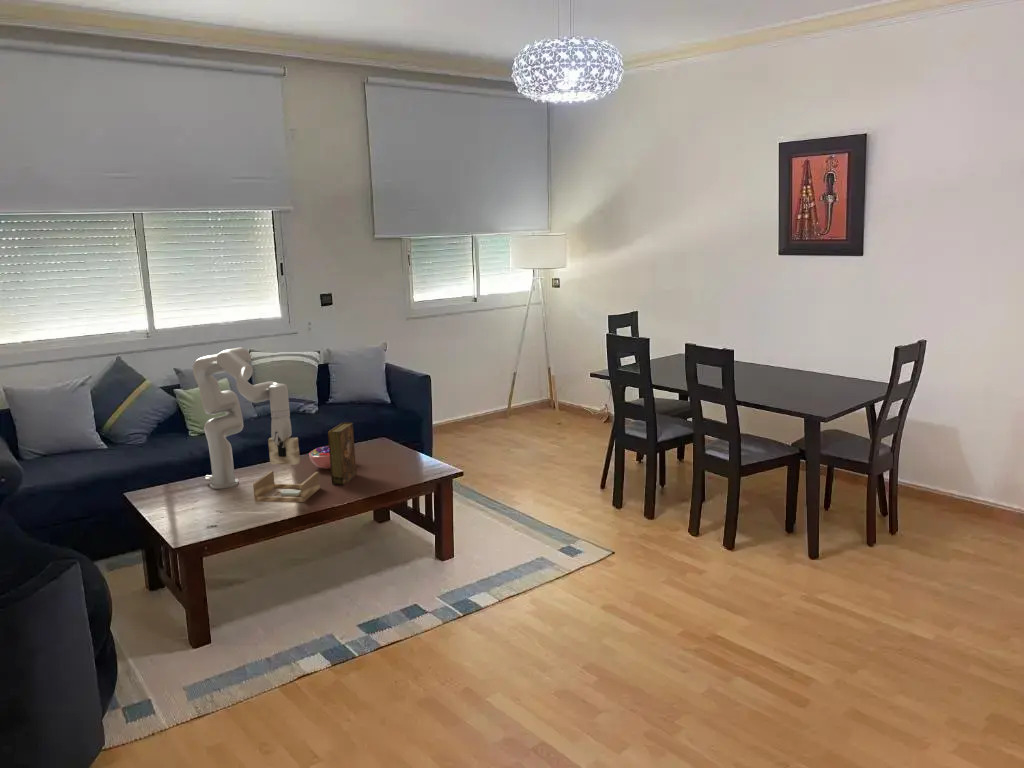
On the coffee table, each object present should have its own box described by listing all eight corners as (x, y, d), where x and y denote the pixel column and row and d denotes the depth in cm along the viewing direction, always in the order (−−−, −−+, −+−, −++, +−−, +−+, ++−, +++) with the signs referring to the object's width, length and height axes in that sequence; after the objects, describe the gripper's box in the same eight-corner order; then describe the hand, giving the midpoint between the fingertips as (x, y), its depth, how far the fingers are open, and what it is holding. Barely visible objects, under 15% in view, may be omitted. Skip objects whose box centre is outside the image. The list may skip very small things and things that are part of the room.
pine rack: (254, 501, 331) (252, 483, 329) (272, 487, 347) (270, 470, 346) (304, 502, 328) (302, 484, 326) (319, 488, 344) (318, 471, 342)
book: (346, 473, 364) (342, 422, 359) (357, 474, 363) (353, 422, 358) (332, 485, 348) (327, 431, 343) (343, 485, 347) (339, 432, 342)
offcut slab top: (280, 495, 336) (280, 493, 335) (284, 492, 339) (284, 489, 339) (298, 495, 335) (298, 493, 334) (301, 492, 338) (301, 490, 338)
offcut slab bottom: (273, 498, 336) (273, 495, 336) (278, 494, 341) (277, 491, 340) (299, 498, 334) (299, 496, 334) (303, 495, 339) (303, 492, 339)
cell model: (303, 468, 375) (301, 445, 372) (339, 458, 388) (338, 437, 385) (320, 475, 362) (318, 452, 360) (357, 465, 375) (355, 443, 373)
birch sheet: (270, 464, 328) (267, 439, 325) (273, 462, 331) (271, 437, 328) (297, 464, 326) (295, 439, 324) (300, 462, 329) (297, 437, 327)
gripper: (280, 408, 332) (284, 449, 336) (263, 418, 316) (267, 461, 320) (296, 408, 331) (300, 449, 335) (280, 418, 315) (284, 461, 319)
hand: (284, 454), depth 327 cm, fingers closed on birch sheet, 3 cm apart
